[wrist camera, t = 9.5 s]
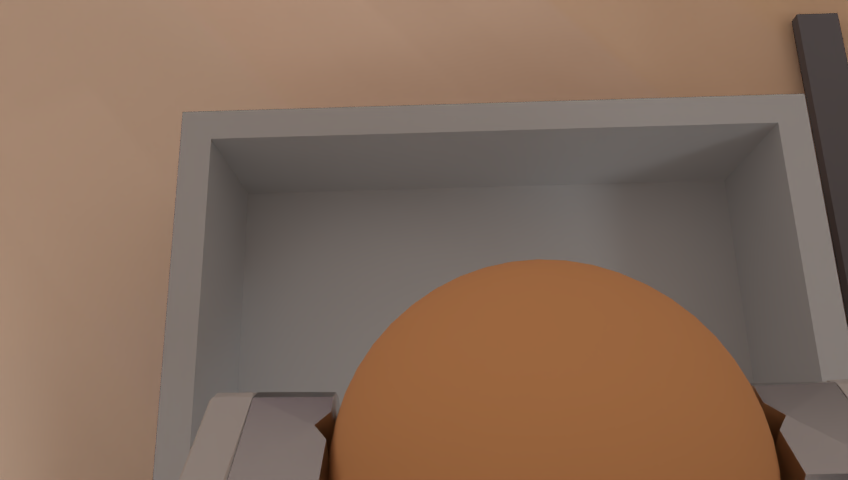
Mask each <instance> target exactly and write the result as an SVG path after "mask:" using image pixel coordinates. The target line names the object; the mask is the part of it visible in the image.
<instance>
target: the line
mask: <svg viewBox="0 0 848 480" xmlns="http://www.w3.org/2000/svg"><path fill="white" fill-rule="evenodd" d="M792 25H793V30H794V35H795V41H796V46H797V52H798V57H799V63H800V68H801V73H802V79H803V84H804V90H805V95H806V100H807V106H808V111H809V117H810V122H811V127H812V133H813V138H814V144H815V149H816V154H817V160H818V165H819V171H820V176H821V182H822V187H823V192H824V198H825V203H826V209H827V214H828V219H829V225H830V230H831V236H832V241H833V246H834V252H835V257H836V263H837V268H838V274H839V279H840V284H841V290H842V295H843V301H844V306H845V311H846V317H847V322H848V63H847V58H846V53H845V48H844V43H843V38H842V33H841V28H840V24H839V19H838V14H837V13H829V14H797V15H796V17H795V18H794V19H793V21H792Z"/></svg>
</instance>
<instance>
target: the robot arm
mask: <svg viewBox="0 0 848 480" xmlns="http://www.w3.org/2000/svg"><path fill="white" fill-rule="evenodd" d="M750 384H751V386H752V388H753V390H754V392H755V395H756V397H757V399H758V401H759V403H760V405H761V407H762V409H763V411H764V414H765V417H766V420H767V423H768V426H769V428H770V431H771V434H772V437H773V440H774V445H775V450H776V454H777V459H778V464H779V468H780V478H781V480H848V379H841V380H827V381H826V382H785V383H750ZM339 409H340V404H339V397H338V395H337V393H336V392H257V393H253V392H246V393H217V394H216V395H215V396H214V397H213V398H212V399H211V400H210V401H209V404H208V406H207V409H206V411H205V414H204V417H203V419H202V422H201V424H200V427H199V429H198V432H197V434H196V437H195V440H194V442H193V445H192V447H191V450H190V452H189V455H188V457H187V460H186V462H185V465H184V468H183V470H182V473H181V475H180V478H179V480H329V451H330V445H331V440H332V436H333V431H334V426H335V421H336V418H337V415H338V412H339Z"/></svg>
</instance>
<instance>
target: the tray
mask: <svg viewBox="0 0 848 480" xmlns="http://www.w3.org/2000/svg"><path fill="white" fill-rule="evenodd" d="M536 259H544V260H567V261H573V262H579V263H585V264H591V265H595V266H598V267H602V268H605V269H609V270H612V271H615V272H619V273H621V274H623V275H626V276H628V277H630V278H633V279H635V280H637V281H640V282H642V283H644V284H647V285H649V286H650V287H652V288H654V289H655V290H657V291H659V292H661V293H662V294H664V295H666V296H668V297H669V298H671V299H673V300H674V301H675V302H676V303H678V304H679V305H680V306H682V307H683V308H684V309H686V310H687V311H688V312H690V313H691V314H692V315H694V316H695V317H696V318H697V319H698V320H699V321H700V322H701V323H702V324H703V325H704V326H705V327H706V328H708V329H709V330H710V331H711V332H712V333H713V334H714V335H715V336H716V337H717V339H718V340H719V341H720V342H721V343H722V345H723V346H724V347H725V348H726V349H727V351H728V352H729V353H730V354H731V356H732V357H733V358H734V359H735V361H736V362H737V364H738V365H739V367H740V369H741V370H742V372H743V373H744V375H745V376H746V378H747V380H748V381H749V383H785V382H826V381H827V380H841V379H848V328H847V322H846V317H845V311H844V306H843V300H842V295H841V290H840V284H839V279H838V273H837V268H836V262H835V257H834V252H833V246H832V241H831V235H830V230H829V225H828V219H827V214H826V208H825V203H824V197H823V192H822V187H821V181H820V176H819V170H818V165H817V159H816V154H815V149H814V143H813V138H812V132H811V127H810V121H809V116H808V111H807V105H806V100H805V94H777V95H743V96H709V97H675V98H641V99H607V100H573V101H539V102H505V103H471V104H437V105H403V106H369V107H335V108H301V109H267V110H233V111H199V112H183V115H182V128H181V140H180V152H179V164H178V177H177V189H176V201H175V214H174V226H173V238H172V250H171V263H170V275H169V287H168V300H167V312H166V324H165V336H164V349H163V361H162V373H161V386H160V398H159V410H158V423H157V435H156V447H155V459H154V472H153V480H179V478H180V475H181V473H182V470H183V468H184V465H185V462H186V460H187V457H188V455H189V452H190V450H191V447H192V445H193V442H194V440H195V437H196V434H197V432H198V429H199V427H200V424H201V422H202V419H203V417H204V414H205V411H206V409H207V406H208V404H209V401H210V400H211V399H212V398H213V397H214V396H215V395H216V394H217V393H246V392H253V393H257V392H336V393H337V395H338V397H339V404H340V406H341V403H342V401H343V398H344V395H345V392H346V390H347V388H348V386H349V384H350V382H351V380H352V378H353V376H354V374H355V372H356V370H357V368H358V366H359V365H360V363H361V362H362V360H363V359H364V357H365V356H366V354H367V353H368V351H369V350H370V348H371V347H372V345H373V344H374V343H375V342H376V340H377V339H378V338H379V337H380V336H381V335H382V334H383V332H384V331H385V330H386V329H387V328H388V327H389V325H390V324H391V323H392V322H393V321H395V320H396V319H397V318H398V317H399V316H400V315H401V314H402V313H404V312H405V311H406V310H407V309H408V308H409V307H410V306H411V305H413V304H414V303H415V302H417V301H418V300H420V299H421V298H423V297H424V296H426V295H427V294H429V293H430V292H432V291H433V290H434V289H436V288H438V287H440V286H442V285H444V284H446V283H448V282H450V281H452V280H454V279H456V278H458V277H460V276H462V275H465V274H468V273H471V272H473V271H476V270H479V269H482V268H485V267H489V266H494V265H498V264H503V263H507V262H513V261H524V260H536Z"/></svg>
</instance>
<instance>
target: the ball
mask: <svg viewBox="0 0 848 480" xmlns="http://www.w3.org/2000/svg"><path fill="white" fill-rule="evenodd" d="M329 480H781V478H780V468H779V464H778V459H777V454H776V450H775V445H774V440H773V437H772V434H771V431H770V428H769V426H768V423H767V420H766V417H765V414H764V411H763V409H762V407H761V405H760V403H759V401H758V399H757V397H756V395H755V392H754V390H753V388H752V386H751V384H750V383H749V381H748V380H747V378H746V376H745V375H744V373H743V372H742V370H741V369H740V367H739V365H738V364H737V362H736V361H735V359H734V358H733V357H732V356H731V354H730V353H729V352H728V351H727V349H726V348H725V347H724V346H723V345H722V343H721V342H720V341H719V340H718V339H717V337H716V336H715V335H714V334H713V333H712V332H711V331H710V330H709V329H708V328H706V327H705V326H704V325H703V324H702V323H701V322H700V321H699V320H698V319H697V318H696V317H695V316H694V315H692V314H691V313H690V312H688V311H687V310H686V309H684V308H683V307H682V306H680V305H679V304H678V303H676V302H675V301H674V300H673V299H671V298H669V297H668V296H666V295H664V294H662V293H661V292H659V291H657V290H655V289H654V288H652V287H650V286H649V285H647V284H644V283H642V282H640V281H637V280H635V279H633V278H630V277H628V276H626V275H623V274H621V273H619V272H615V271H612V270H609V269H605V268H602V267H598V266H595V265H591V264H585V263H579V262H573V261H567V260H544V259H536V260H524V261H513V262H507V263H503V264H498V265H494V266H489V267H485V268H482V269H479V270H476V271H473V272H471V273H468V274H465V275H462V276H460V277H458V278H456V279H454V280H452V281H450V282H448V283H446V284H444V285H442V286H440V287H438V288H436V289H434V290H433V291H432V292H430V293H429V294H427V295H426V296H424V297H423V298H421V299H420V300H418V301H417V302H415V303H414V304H413V305H411V306H410V307H409V308H408V309H407V310H406V311H405V312H404V313H402V314H401V315H400V316H399V317H398V318H397V319H396V320H395V321H393V322H392V323H391V324H390V325H389V327H388V328H387V329H386V330H385V331H384V332H383V334H382V335H381V336H380V337H379V338H378V339H377V340H376V342H375V343H374V344H373V345H372V347H371V348H370V350H369V351H368V353H367V354H366V356H365V357H364V359H363V360H362V362H361V363H360V365H359V366H358V368H357V370H356V372H355V374H354V376H353V378H352V380H351V382H350V384H349V386H348V388H347V390H346V392H345V395H344V398H343V401H342V403H341V406H340V409H339V412H338V415H337V418H336V421H335V426H334V431H333V436H332V440H331V445H330V451H329Z"/></svg>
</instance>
